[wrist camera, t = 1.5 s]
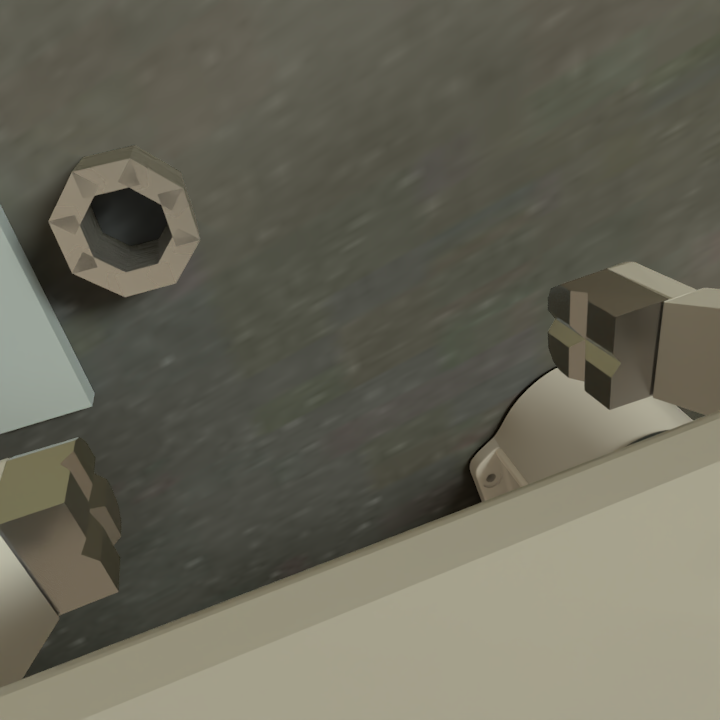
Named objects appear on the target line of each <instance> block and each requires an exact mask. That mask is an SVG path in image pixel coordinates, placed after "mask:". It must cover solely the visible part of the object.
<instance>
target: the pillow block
mask: <svg viewBox="0 0 720 720" xmlns="http://www.w3.org/2000/svg"><path fill="white" fill-rule="evenodd" d="M94 395H95V393H94V391H93V389H92V387H91V385H90V383H89V381H88V379H87V377H86V375H85V373H84V371H83V369H82V367H81V365H80V363H79V361H78V359H77V357H76V355H75V353H74V351H73V349H72V347H71V345H70V343H69V341H68V339H67V337H66V335H65V333H64V331H63V329H62V327H61V325H60V323H59V321H58V319H57V317H56V315H55V313H54V311H53V309H52V307H51V305H50V303H49V301H48V299H47V297H46V295H45V293H44V291H43V289H42V287H41V285H40V283H39V281H38V279H37V277H36V275H35V273H34V271H33V269H32V267H31V265H30V263H29V261H28V259H27V257H26V255H25V253H24V251H23V249H22V247H21V245H20V243H19V241H18V239H17V237H16V235H15V233H14V231H13V229H12V227H11V225H10V223H9V221H8V219H7V217H6V215H5V213H4V211H3V209H2V207H1V205H0V434H2V433H5V432H8V431H12V430H15V429H18V428H22V427H25V426H28V425H32V424H35V423H38V422H42V421H45V420H48V419H52V418H55V417H58V416H62V415H65V414H68V413H72V412H75V411H78V410H81V409H85V408H88V407H91V406H92V404H93V399H94Z"/></svg>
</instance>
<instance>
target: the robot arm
mask: <svg viewBox="0 0 720 720" xmlns="http://www.w3.org/2000/svg"><path fill="white" fill-rule="evenodd" d="M548 311H549V312H550V313H551V314H552V316H553V317H554V318H555V320H554V322H553V324H552V326H551V327H550V329H549V331H548V348H549V351H550V354H551V356H552V359H553V362H554V363H555V365H556V366H557V367H558V368H556V369H554V370H552V371H550V372H549V373H547V374H546V375H544V376H543V377H542V378H540V379H539V380H538V381H536V382H535V383H534V384H533V385H532V386H531V387H530V388H528V389H527V390H526V391H525V392H524V393H523V395H522V396H521V397H520V398H519V399H518V400H517V402H516V403H515V404H514V405H513V407H512V408H511V410H510V411H509V413H508V414H507V416H506V418H505V420H504V422H503V423H502V425H501V427H500V429H499V430H498V432H497V433H496V435H495V436H494V437H493V438H492V439H491V440H490V441H489V442H488V443H487V444H486V445H485V446H484V447H483V448H482V449H481V450H480V451H479V452H478V453H477V454H476V455H475V456H474V457H473V459H472V461H471V463H470V472H471V474H472V477H473V480H474V482H475V485H476V488H477V490H478V493H479V495H480V498H481V501H482V502H481V503H478V504H476V505H473V506H471V507H468V508H465V509H463V510H460V511H458V512H455V513H452V514H450V515H447V516H445V517H442V518H439V519H437V520H434V521H432V522H429V523H426V524H424V525H421V526H419V527H416V528H414V529H411V530H408V531H406V532H403V533H401V534H398V535H395V536H393V537H390V538H388V539H385V540H382V541H380V542H377V543H375V544H372V545H369V546H367V547H364V548H362V549H359V550H356V551H354V552H351V553H349V554H346V555H343V556H341V557H338V558H336V559H333V560H330V561H328V562H325V563H323V564H320V565H317V566H315V567H312V568H310V569H307V570H305V571H302V572H299V573H297V574H294V575H292V576H289V577H286V578H284V579H281V580H279V581H276V582H273V583H271V584H268V585H266V586H263V587H260V588H258V589H255V590H253V591H250V592H247V593H245V594H242V595H240V596H237V597H234V598H232V599H229V600H227V601H224V602H221V603H219V604H216V605H214V606H211V607H208V608H206V609H203V610H201V611H198V612H195V613H193V614H190V615H188V616H185V617H183V618H180V619H177V620H175V621H172V622H170V623H167V624H164V625H162V626H159V627H157V628H154V629H151V630H149V631H146V632H144V633H141V634H138V635H136V636H133V637H131V638H128V639H125V640H123V641H120V642H118V643H115V644H112V645H110V646H107V647H105V648H102V649H99V650H97V651H94V652H92V653H89V654H86V655H84V656H81V657H79V658H76V659H74V660H71V661H68V662H66V663H63V664H61V665H58V666H55V667H53V668H50V669H48V670H45V671H42V672H40V673H37V674H35V675H32V676H29V677H27V678H24V679H22V678H23V677H24V675H25V673H26V672H27V670H28V669H29V667H30V665H31V664H32V662H33V661H34V659H35V657H36V656H37V654H38V652H39V651H40V649H41V648H42V646H43V644H44V643H45V641H46V640H47V638H48V636H49V635H50V633H51V632H52V630H53V628H54V627H55V625H56V623H57V622H58V620H59V619H60V618H59V617H58V616H59V615H61V614H64V613H66V612H69V611H71V610H74V609H76V608H79V607H81V606H84V605H86V604H89V603H91V602H94V601H96V600H99V599H102V598H104V597H107V596H109V595H112V594H114V593H117V592H119V573H120V556H119V554H118V552H117V551H116V549H115V547H114V545H115V544H116V542H117V541H118V540H119V538H120V537H121V517H120V511H119V506H118V503H117V500H116V497H115V495H114V492H113V490H112V488H111V486H110V484H109V482H108V480H107V479H105V478H103V477H101V476H99V475H97V474H94V467H95V456H94V455H93V453H92V451H91V449H90V448H89V446H88V444H87V443H86V441H84V440H83V439H82V438H80V437H78V438H75V439H71V440H68V441H65V442H61V443H58V444H54V445H51V446H48V447H44V448H41V449H38V450H34V451H31V452H28V453H24V454H21V455H18V456H14V457H12V458H6V459H3V460H0V720H720V289H713V288H703V289H700V290H696V289H694V288H691V287H689V286H687V285H684V284H682V283H680V282H678V281H675V280H673V279H671V278H669V277H666V276H664V275H662V274H660V273H657V272H655V271H653V270H651V269H648V268H646V267H644V266H642V265H639V264H637V263H635V262H623V263H620V264H617V265H615V266H612V267H609V268H606V269H604V270H601V271H598V272H595V273H592V274H589V275H586V276H584V277H581V278H578V279H575V280H572V281H569V282H566V283H563V284H560V285H558V286H555V287H553V288H551V290H550V293H549V296H548ZM677 406H679V407H683V408H686V409H689V410H692V411H695V412H698V413H701V414H704V415H707V416H704V417H701V418H699V419H696V420H694V421H693V420H692V419H690V418H689V417H688V416H687V415H686V414H685V413H684V412H682V411H681V410H680V409H679V408H678V407H677Z"/></svg>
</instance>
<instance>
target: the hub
mask: <svg viewBox="0 0 720 720" xmlns="http://www.w3.org/2000/svg"><path fill="white" fill-rule="evenodd" d="M128 187H129V188H131V189H133V190H135V191H136V192H138V193H140V194H142V195H144V196H146V197H148V198H149V199H151V200H153V201H155V202H157V203H159V204H161V205H162V208H163V211H164V214H165V217H166V219H167V222H168V223H167V225H166V227H165V229H164V230H163V232H162V234H161V236H160V238H159V239H157V240H153V241H149V242H145V243H142V244H138V245H134V246H129V245H127V244H125V243H123V242H121V241H119V240H117V239H115V238H113V237H111V236H109V235H107V234H104V233H102V231H101V228H100V226H99V223H98V221H97V219H96V216H95V214H94V211H93V209H92V207H91V202H92V200H93V198H94V196H96V195H100V194H104V193H108V192H112V191H116V190H120V189H124V188H128ZM48 222H49V224H50V227H51V229H52V231H53V233H54V235H55V237H56V240H57V242H58V244H59V246H60V248H61V250H62V252H63V255H64V257H65V259H66V261H67V263H68V265H69V268H70V270H71V272H72V274H74V275H77V276H79V277H81V278H83V279H86V280H88V281H90V282H92V283H94V284H97V285H99V286H101V287H103V288H106V289H108V290H110V291H112V292H114V293H117V294H119V295H121V296H123V297H128V296H131V295H135V294H139V293H142V292H146V291H149V290H153V289H157V288H160V287H164V286H168V285H171V284H175V283H176V282H177V281H178V279H179V277H180V275H181V273H182V272H183V270H184V268H185V266H186V264H187V263H188V261H189V259H190V257H191V255H192V254H193V252H194V250H195V248H196V246H197V245H198V243H199V241H200V235H199V230H198V224H197V219H196V216H195V213H194V210H193V207H192V204H191V201H190V198H189V195H188V192H187V188H186V185H185V182H184V179H183V176H182V173H181V171H179V170H177V169H175V168H174V167H172V166H170V165H169V164H167V163H165V162H163V161H162V160H160V159H158V158H156V157H155V156H153V155H151V154H150V153H148V152H146V151H144V150H143V149H141V148H139V147H137V146H136V145H132V146H127V147H123V148H119V149H114V150H110V151H106V152H102V153H97V154H93V155H89V156H84V157H83V158H82V159H81V161H80V162H79V163H78V165H77V166H76V167H75V168H74V170H73V171H72V173H71V175H70V177H69V179H68V181H67V183H66V186H65V188H64V190H63V192H62V194H61V196H60V198H59V200H58V202H57V204H56V207H55V209H54V211H53V213H52V215H51V217H50V219H49V221H48Z"/></svg>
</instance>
